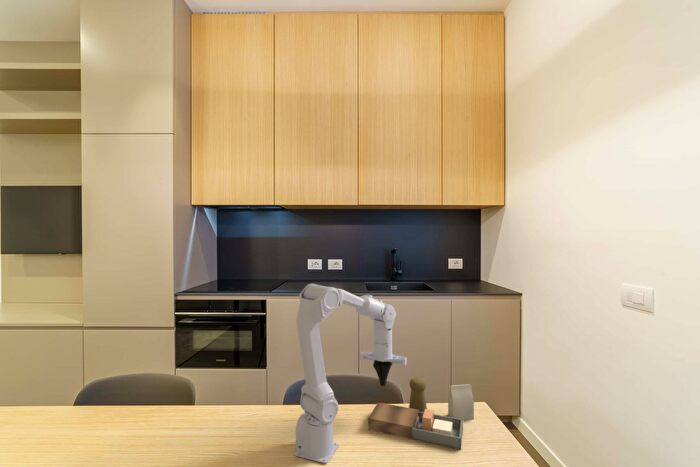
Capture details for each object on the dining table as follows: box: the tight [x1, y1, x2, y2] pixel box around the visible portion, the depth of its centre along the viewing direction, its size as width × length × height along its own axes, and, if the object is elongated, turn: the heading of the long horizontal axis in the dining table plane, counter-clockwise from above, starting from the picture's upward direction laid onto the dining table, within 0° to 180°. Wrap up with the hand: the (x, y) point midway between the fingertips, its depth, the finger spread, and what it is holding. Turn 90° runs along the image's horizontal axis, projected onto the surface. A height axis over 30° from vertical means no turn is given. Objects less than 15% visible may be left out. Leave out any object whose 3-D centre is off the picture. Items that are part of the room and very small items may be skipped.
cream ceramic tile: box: [433, 419, 453, 436], centre depth 97 cm, size 5×5×2 cm
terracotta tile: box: [422, 408, 435, 432], centre depth 99 cm, size 5×5×2 cm
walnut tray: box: [367, 402, 419, 440], centre depth 103 cm, size 13×10×4 cm
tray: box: [411, 411, 464, 451], centre depth 98 cm, size 13×10×3 cm
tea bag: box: [447, 383, 475, 421], centre depth 107 cm, size 4×7×10 cm, turn 98°
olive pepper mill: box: [408, 376, 428, 412], centre depth 109 cm, size 6×6×11 cm
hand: (383, 384), depth 107 cm, fingers closed
